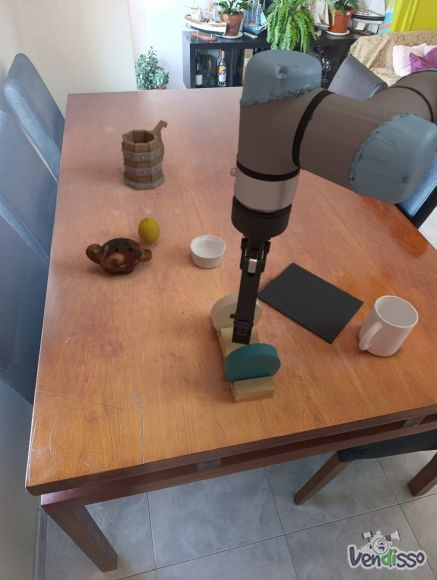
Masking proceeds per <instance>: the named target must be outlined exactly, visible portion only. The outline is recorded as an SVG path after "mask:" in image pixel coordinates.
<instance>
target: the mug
mask: <svg viewBox="0 0 437 580" xmlns="http://www.w3.org/2000/svg"><path fill="white" fill-rule="evenodd" d="M418 320H419V315H418V311H417V309H416V308H415V306H413V304H411V303H410V302H409V301H407V300H405V299H403V298H401V297H399V296H395V295H383V296H380V297H379V298H377V299H376V300H375V302H374V303H373V306H372V307H371V309H370V311H369V313H368V315H367V317H366V319H365V320H364V322H363V324H362V326H361V327H360V330H359V333H358V338H359V342H358V348H359V350H361V351H365V350H366V351H367V352H369V353H370V354H373V356H374V355H375V356H377V357H389V356H392V355H394V354H395V353H396V352H397V351H398V350H399V349H400V347H401V346H402V345H403V343H404V342H405V340H406V338H407V337H408V336H409V335H410V333H411V332H412V330H413V329H414V327H415V326H416V324H418Z"/></svg>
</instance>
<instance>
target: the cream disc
mask: <svg viewBox="0 0 437 580" xmlns="http://www.w3.org/2000/svg"><path fill="white" fill-rule="evenodd" d="M238 294H239V291H238V292H233V293H229V294H226V295H224V296H222V297H220V298H219V299H218V300H217V301H216V302H215V303H214V304H213V305H212V307H211V310H210V316H211V320H212V325H213V327H214V329H215V330H216V329H217V330H218V331H220V329H221V328H229V327H234V324H233V321H234V319H231V318H230V314H231V313H232V314H235V312H236V308H237V301H238ZM254 314H255V315H254V316H255V317H254V321H253V323H254V326H255V327H256V326H257V325H258V324H259V322H260V321H261V319H262V318H263V317H262V316H263V309H262V306H261V304H260V301H259V298H257V301H256V307H255V313H254Z"/></svg>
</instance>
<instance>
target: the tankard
mask: <svg viewBox="0 0 437 580" xmlns="http://www.w3.org/2000/svg"><path fill="white" fill-rule="evenodd" d="M167 127H168V122H167V121H164V120H162V119H160V120H159V121H158V123H157V125H155V126H154V128H153V129H151V130H148V129H132V130H129V131H126V132H125V133H123V134H122V135H121V138H122V141H121V143H120V144H121V149H120V151H121V153H122V157H123V159H122V160H123V163H122V165H123V167H124V171H122V175H123V184H124V185H125V186H127V187H130V188H132V189H134V190H137V191H143V190H154V189H156V188H158V187H159V186H161V185H163V183H165V182H166V180H165V179H166V178H165V174H164V171H163V167H162V163H163V160H164V156H165V145H164V142H163V139H162V130H163V128H165V129H166V128H167Z"/></svg>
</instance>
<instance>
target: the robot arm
mask: <svg viewBox="0 0 437 580" xmlns="http://www.w3.org/2000/svg"><path fill="white" fill-rule="evenodd" d="M322 73H323V66H322V64H321V62H320V59H318V58H317V57H314V56H311V55H310V54H308V53H305V52H301V51H297V50H292V49H268V50H262V51H259V52H256V53H255V54H253V55H252V56H251V57H250V58H248V61H247V63H246V65H245V69H244V76H243V84H242V90H241V98H240V99H239V119H238V120H239V121H238V139H237V140H238V141H237V154H236V160H235V167H231V169H230V170H229V175H230V176H231V177H234V182H233V183H234V184H233V196H232V201H231V214H230V221H231V224H232V226H233V227H234V229H235V230H237V232H239V233H240V234H242V237H241V241H240V251H241V253H240V260H239V267H238V268H239V269H240V271H241V275H240V280H239V290H238V292H239V294H238V301H237V308H236V312H235V314H232V313H231V314H230V318H231V319H234V321H233V324H234V327H233V335H232V342H233V343H239V344H245V345H249V343H250V337H251V332H252V328H253V326H254V323H253V321H254V317H255V316H254V315H255V314H254V313H255V307H256V301H257V299H258V298H257V295H258V293H259V288H260V284H261V283H260V282H261V277H262V276H261V275H262V273H264V272H265V271H266V270H265V269H266V265H267V259H268V258H267V257H268V254H269V253H270V251H271V245H272V241H271V240H272V239H273V238H276V237H278V236H280V235H281V234H283V233H284V232H285V231H286V230H287V228H288V225H289V222H290V217H291V213H292V208H293V203H294V200H295V197H296V192H297V187H298V183H299V179H300V174H301V170H303V171H306V172H308V173H310V174H312V175H315V176H317V177H320V178H322V179H324V180H326V181H329V182H331V183H333V184H334V185H335V184H336V185H338V186H340V187H342V188H345V189H347V190H349V191H350V192H353V193H354V194H356V195H358V196H359V197H365V198H370V199H373V200H377V201H380V202H383V203H385V204H388V205H396V204H400V203H402V202H404V201H405V200H406V199H408V198H409V197H410V195H411V194H412V193H413V192H414V189H415V188H416V186H418V184H419V182H421V179H422V178H423V176H424V174H425V173H426V171H427V169H428V167H429V165H430V163H431V161H432V160H433V157H434V155H435V153H436V152H437V68H435V67H432V68H424V69H421V70H414V71H412V72H410V73H408V74H405V75H403V76H402V77H400V78H399V79H398V80H396V81H395V82H394V83H392V84H391V85H389V86H387V87H386V88H384V89H382V90H381V91H379V92H377V93H375V94H374V95H372V96H370V97H368V98H366V99H365V100H361V99H357V98H353V97H350V96H347V95H343V94H338V93H336V92H334V91H331V90H329V89H326V88H323V87H321V86H322V83H321V82H322V80H323V79H322Z"/></svg>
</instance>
